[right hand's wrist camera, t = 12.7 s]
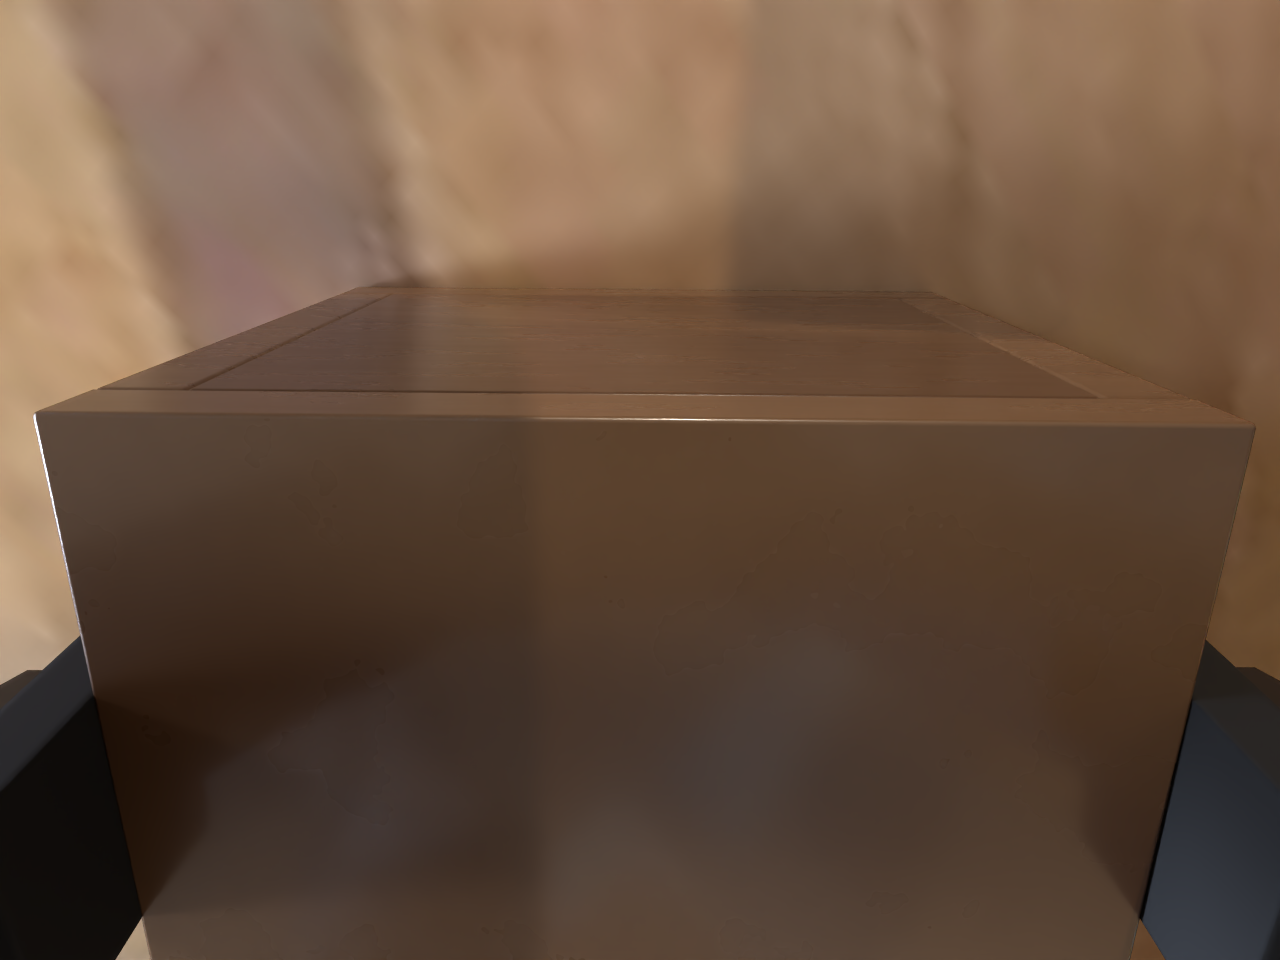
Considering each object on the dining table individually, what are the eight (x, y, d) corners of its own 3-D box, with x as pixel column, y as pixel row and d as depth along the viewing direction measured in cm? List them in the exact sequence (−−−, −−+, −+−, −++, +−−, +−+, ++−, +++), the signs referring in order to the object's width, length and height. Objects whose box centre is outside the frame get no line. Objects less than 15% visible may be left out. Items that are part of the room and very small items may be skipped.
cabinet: (840, 1129, 23) (956, 1698, 15) (433, 1124, 23) (306, 1688, 15) (933, 291, 16) (1260, 423, 8) (355, 286, 16) (28, 411, 8)
